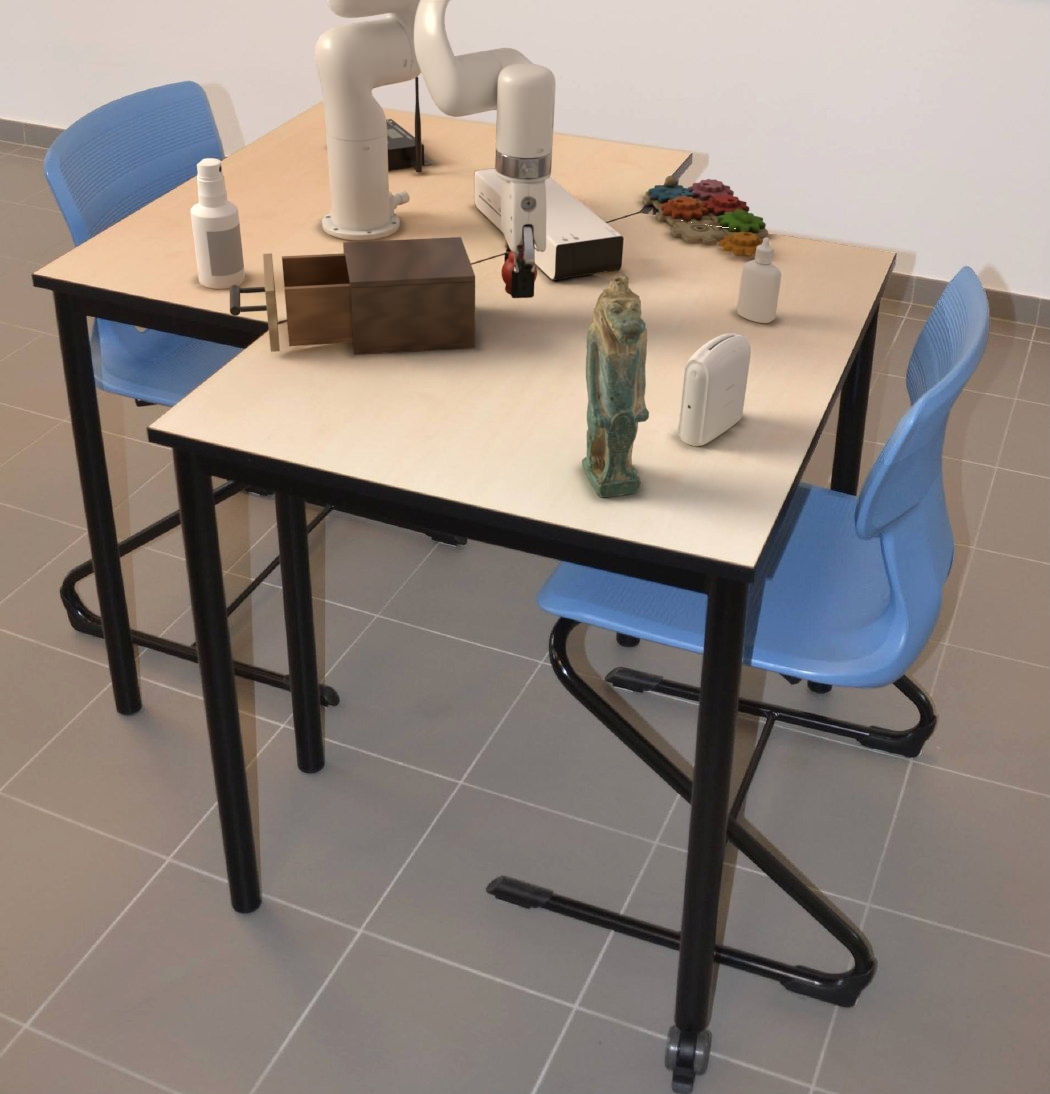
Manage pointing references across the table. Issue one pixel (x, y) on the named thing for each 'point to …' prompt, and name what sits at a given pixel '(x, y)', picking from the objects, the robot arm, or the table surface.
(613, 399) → the statue
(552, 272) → the laminator
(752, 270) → the eye dropper bottle
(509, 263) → the pear
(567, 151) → the table surface
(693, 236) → the gear puzzle
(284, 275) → the drawer
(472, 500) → the table surface
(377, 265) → the cabinet
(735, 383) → the photo printer
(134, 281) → the table surface
